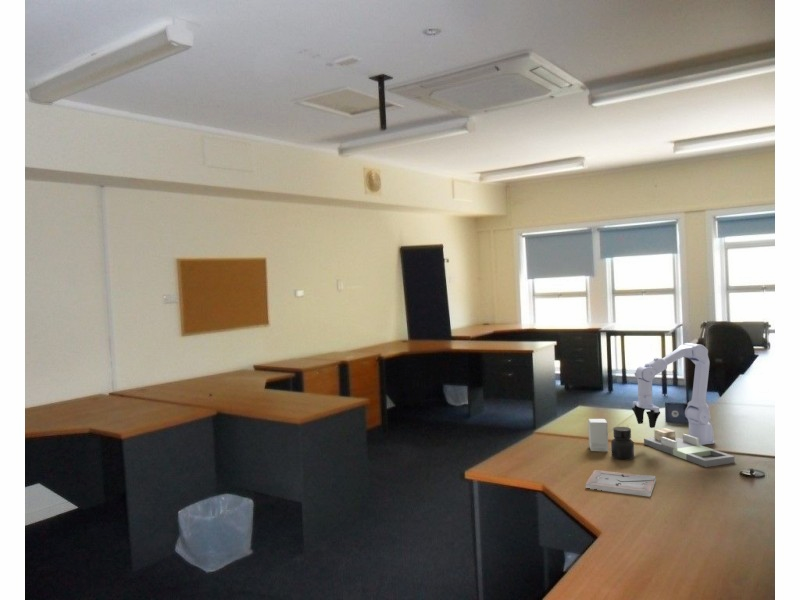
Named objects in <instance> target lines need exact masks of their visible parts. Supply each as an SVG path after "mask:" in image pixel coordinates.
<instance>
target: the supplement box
mask: <svg viewBox="0 0 800 600" xmlns="http://www.w3.org/2000/svg"><path fill="white" fill-rule="evenodd" d="M587 419H588V420H587V421H588V423H587V425H588V426H587V427H588V447H589V450H590V451H591V452H608V451H609V437H608V436H609V434H608V430H609V429H608V422H607V420H606V419H605V418H587Z"/></svg>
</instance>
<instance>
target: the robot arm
mask: <svg viewBox="0 0 800 600" xmlns="http://www.w3.org/2000/svg"><path fill="white" fill-rule="evenodd" d="M683 358H687V359H689V361H691V362H692V363H693V364H694V365H695V366H694V367H695V368H694V376H693V385H692V386H693V387H692V393H691V400H690V401H688V402H687V403H688V406H687V408H686V410H685V416H686V418H688V421H689V424H688V435H690V436H693V437H696V438H699V445H702V446H705V445H711V444H715V443H716V442H715V441H714V427H713V425H712V423H710V420H711V418H712V417H711V413H710V406H709V405H708V403H707V402H706V401H707V391H708V384H709V383H708V382H709V373H710V372H709V371H710V366H711V365H710V363H711V362H710V358H709V349H708V348H707V347H706V346H704V344H698V343H697V344H696V343H690V342H685V343H682V344H680V345H679V346H678V347H677V348H676V349H675V350H673V351H672V352H670V353H668V354H666V356H663V358H662V357H655V358H653V360H652V361H650V362H649V363H645V364H644V366H643V365H641V366H639V367H637V368H636V370H635V372H634V376H635V378H636V379H637V380H636V381H637V395H638V397H637V398H638V399H637V401H632V408H631V410H632V411H633V413H634V415H635V418H636V422H637V424H638V425H640V424H641V425H642V424H644V413H645V412H646V415H647V419H648V424H649V425H648V426H649V428H651V429H653V428H654V429H655V427H656V425H657V421H658V418H659V416H660V414H661V411H660V407H659V406H656V405H655V404H654V402H653V401H654V400H653V380H654V379H655V377H656V376H657V375H658V374H660V373H662V372H663V371H665V370H667V368H668V365H671V364H672V363H674V362H676V361H678V360H680V359H683ZM646 410H647V411H646Z"/></svg>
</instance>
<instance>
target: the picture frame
mask: <svg viewBox="0 0 800 600" xmlns="http://www.w3.org/2000/svg"><path fill="white" fill-rule="evenodd" d="M656 479H657V478H656V476H655V475H648V474H647V475H646V474H634V473H624V472H617V471H606V470H598V469H594V470H593V472H592V473H591V475H590V476H589V478H588V479H587V480H586V482H585V489H586V488H590V489H589V490H594V489H597V490H596V491H601V490H602V491H603V492H609V493H617V494H618V493H619V494H626V495H633V496H641V497H642V496H643V497H651V496H652V493H653V490H654V488H655V484H656Z"/></svg>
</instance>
